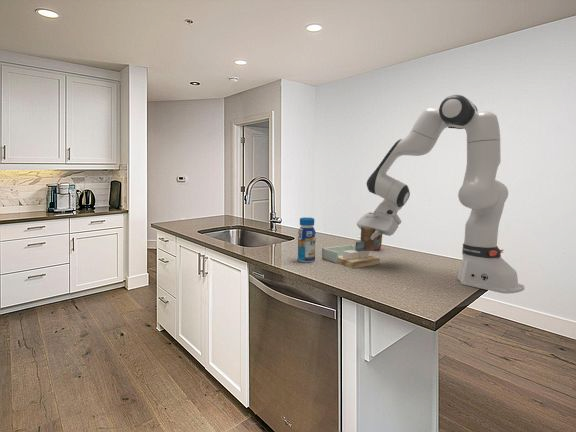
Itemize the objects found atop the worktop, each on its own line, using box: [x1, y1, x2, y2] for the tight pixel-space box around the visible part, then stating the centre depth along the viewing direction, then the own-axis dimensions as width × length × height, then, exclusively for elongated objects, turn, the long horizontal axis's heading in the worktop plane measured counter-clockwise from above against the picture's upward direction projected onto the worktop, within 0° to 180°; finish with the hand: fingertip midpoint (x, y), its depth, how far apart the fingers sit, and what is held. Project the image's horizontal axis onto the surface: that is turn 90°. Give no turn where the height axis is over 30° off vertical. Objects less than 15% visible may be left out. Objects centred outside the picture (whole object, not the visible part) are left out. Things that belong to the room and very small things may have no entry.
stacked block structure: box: [354, 227, 379, 252], centre depth 161 cm, size 4×12×10 cm, turn 121°
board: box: [337, 255, 381, 269], centre depth 167 cm, size 10×16×2 cm, turn 121°
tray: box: [321, 244, 356, 264], centre depth 175 cm, size 11×18×5 cm, turn 121°
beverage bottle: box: [297, 217, 317, 263], centre depth 170 cm, size 8×8×20 cm
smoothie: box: [372, 234, 383, 252], centre depth 196 cm, size 8×8×20 cm
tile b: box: [343, 250, 359, 260], centre depth 167 cm, size 5×5×3 cm
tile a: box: [354, 249, 370, 258], centre depth 170 cm, size 5×5×3 cm
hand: (366, 238), depth 160 cm, fingers closed on stacked block structure, 3 cm apart
